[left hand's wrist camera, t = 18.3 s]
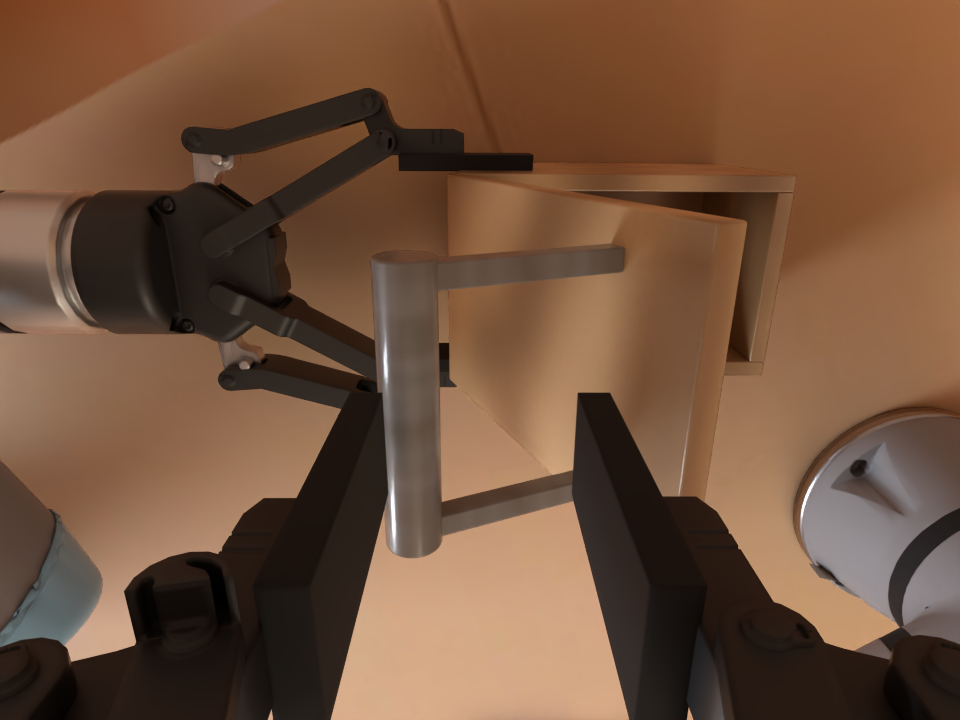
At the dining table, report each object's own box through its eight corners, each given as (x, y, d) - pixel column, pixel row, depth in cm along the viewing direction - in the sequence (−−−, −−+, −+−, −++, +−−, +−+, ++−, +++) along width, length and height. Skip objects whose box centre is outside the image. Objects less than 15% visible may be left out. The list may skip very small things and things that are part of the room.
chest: (716, 163, 38) (798, 175, 28) (695, 317, 41) (762, 376, 32) (462, 162, 38) (456, 173, 28) (462, 316, 41) (457, 374, 31)
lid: (749, 220, 14) (420, 243, 11) (694, 576, 17) (432, 669, 14) (465, 173, 28) (286, 178, 25) (465, 376, 31) (308, 402, 28)
